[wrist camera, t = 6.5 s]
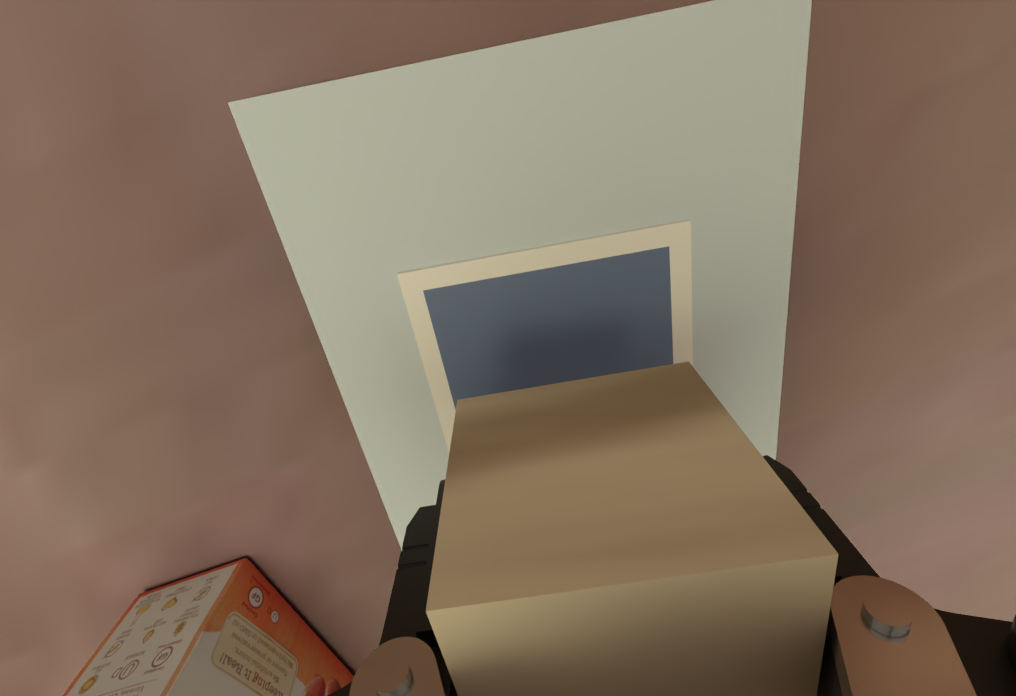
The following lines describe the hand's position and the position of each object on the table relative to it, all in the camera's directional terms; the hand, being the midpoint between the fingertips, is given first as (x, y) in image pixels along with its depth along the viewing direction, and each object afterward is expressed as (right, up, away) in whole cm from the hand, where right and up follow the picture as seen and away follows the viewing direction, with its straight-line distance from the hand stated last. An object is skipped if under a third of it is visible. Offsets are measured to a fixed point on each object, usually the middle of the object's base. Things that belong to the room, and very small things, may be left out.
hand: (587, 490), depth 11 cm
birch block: (0, 0, +1) cm, 1 cm away
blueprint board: (0, +3, +6) cm, 6 cm away
